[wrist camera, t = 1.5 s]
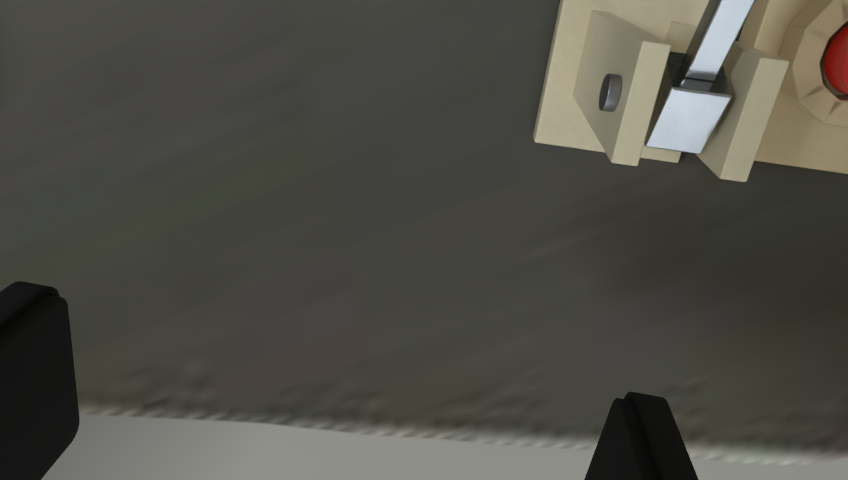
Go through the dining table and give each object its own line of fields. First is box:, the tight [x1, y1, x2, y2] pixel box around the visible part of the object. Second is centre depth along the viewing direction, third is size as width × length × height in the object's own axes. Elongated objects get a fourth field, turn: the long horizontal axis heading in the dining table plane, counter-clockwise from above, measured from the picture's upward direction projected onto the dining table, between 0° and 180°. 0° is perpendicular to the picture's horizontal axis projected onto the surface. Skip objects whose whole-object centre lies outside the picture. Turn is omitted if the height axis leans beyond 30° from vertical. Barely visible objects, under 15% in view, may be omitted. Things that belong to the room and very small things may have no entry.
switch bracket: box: [533, 0, 789, 182], centre depth 28 cm, size 10×8×13 cm
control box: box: [738, 0, 848, 174], centre depth 31 cm, size 12×9×4 cm
